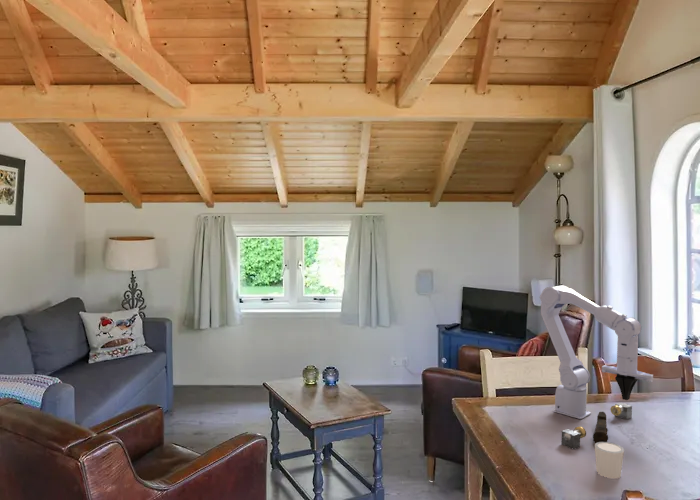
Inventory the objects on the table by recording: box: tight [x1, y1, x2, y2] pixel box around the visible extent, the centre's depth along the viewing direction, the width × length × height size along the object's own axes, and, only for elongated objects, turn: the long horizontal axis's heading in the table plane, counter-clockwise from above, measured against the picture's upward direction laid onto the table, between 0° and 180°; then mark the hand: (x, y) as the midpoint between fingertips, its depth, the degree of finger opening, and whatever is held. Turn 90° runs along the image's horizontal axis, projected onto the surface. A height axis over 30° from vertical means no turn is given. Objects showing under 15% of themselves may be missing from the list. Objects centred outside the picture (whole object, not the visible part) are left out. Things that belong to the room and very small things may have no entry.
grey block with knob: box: [609, 402, 633, 420], centre depth 172 cm, size 7×4×5 cm, turn 122°
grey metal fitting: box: [561, 426, 587, 450], centre depth 151 cm, size 7×4×5 cm, turn 122°
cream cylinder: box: [594, 441, 625, 480], centre depth 133 cm, size 7×7×7 cm
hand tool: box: [592, 411, 609, 444], centre depth 159 cm, size 19×4×5 cm, turn 150°
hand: (625, 399), depth 163 cm, fingers closed
